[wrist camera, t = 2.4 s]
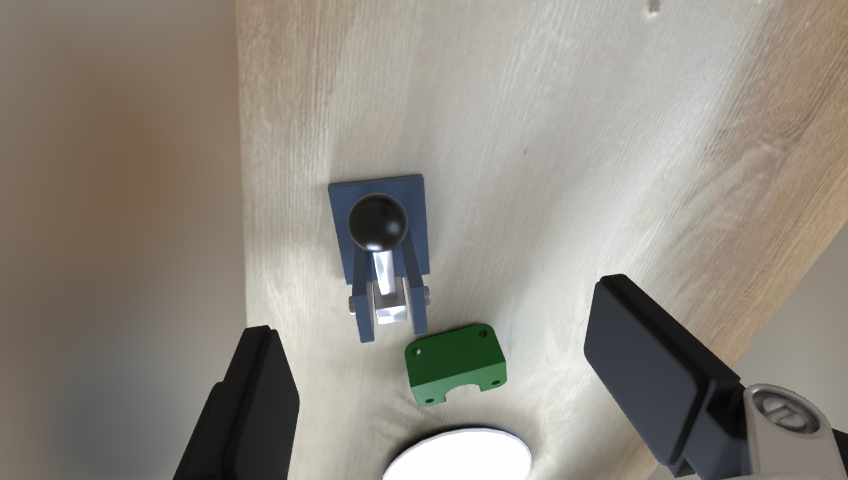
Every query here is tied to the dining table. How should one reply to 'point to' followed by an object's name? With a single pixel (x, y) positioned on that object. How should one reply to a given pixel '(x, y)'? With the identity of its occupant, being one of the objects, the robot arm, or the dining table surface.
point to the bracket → (406, 256)
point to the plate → (463, 457)
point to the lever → (382, 249)
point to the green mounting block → (454, 363)
